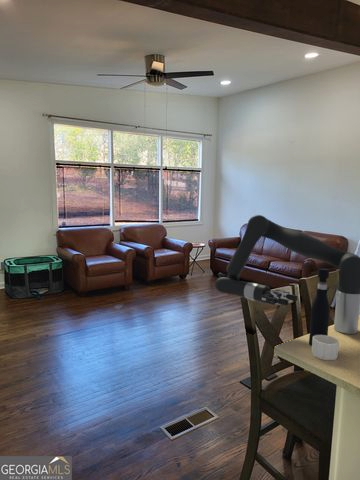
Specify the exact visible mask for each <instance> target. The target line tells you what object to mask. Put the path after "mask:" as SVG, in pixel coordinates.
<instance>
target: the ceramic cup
mask: <svg viewBox="0 0 360 480" xmlns="http://www.w3.org/2000/svg"><path fill="white" fill-rule="evenodd" d="M339 344H340V341H339V340H338V339H337V338H336V337H333V336H330V335H328V336H327V335H315V336H313V339H312V346H311V353H312V356H314V357H315V358H317V359H320V360H323V361H335V360H337V359H338V356H339V346H340V345H339Z"/></svg>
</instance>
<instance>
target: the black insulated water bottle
mask: <svg viewBox="0 0 360 480" xmlns="http://www.w3.org/2000/svg"><path fill="white" fill-rule="evenodd" d="M329 276H330V269H329V268H326V267H319V268H318V269H317V278H318V279H319V280H318V283H317V287H316V295H315V297H314V298H313V302H312V306H311V310H310V311H311V313H310V327H309V339H308V345H309V346H311V347H312V339H313V336H315V335H327V336H329V323H330V321H329V320H330V310H331V309H330V303H329V302H330V301H329V298H328V285H327V279H329V278H330V277H329Z"/></svg>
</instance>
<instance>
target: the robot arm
mask: <svg viewBox="0 0 360 480" xmlns="http://www.w3.org/2000/svg"><path fill="white" fill-rule="evenodd" d="M262 237H263V238H266V239H268V240H272V241H275V242H276V243H277V244H280V245H281V246H283V247H284V248H286V249H288V250H290V251H292V252H294V253H295V254H298V255H300V256H303V257H306V258H309V259H313V260H317V261H320V262H324V263H327V264H328V265H331V266H332V267H334V268H336V269H338V270H339V277H338V283H337V289H336V298H335V299H336V301H335V312H334V323H333V329H334V330H335V331H337V332H339V333H342V334H348V335H355V334H357V333H358V330H359V319H360V256H359V255H357V254H356V253H352V252H348V251H345V250H342V249H340V248H339V249H338V248H336V247H333V246H331V245H329V244H328V243H326V242H323V240H320V239H318V238H316V237H315V236H312V235H309V234H306V233H304V232H302V231H299V230H297V229H292V228H290V227H289V228H288V227H286V226H285V227H284V226H282V225H280V224H277V223H275V222H274V221H272V220H270V219H269V218H267V217H265V216H263V215H260V214H255V215H252V216H251V217H250V218H249V220H248V222H247V226H246V229H245V232H244V234H243V237H242V239H241V240H240V242H239V245H238V247H237V248H236V250H235V251H234V253H233V255H232V257H231V258H230V260H229V262H228V263H227V266H226V272H227V275H226V277H225V276H222V277H221V276H220V277H218V278H217V279H216V280H215V283H214V286H215V289H216V290H217V292H219V293H222V294H229V295H235V296H237V297H240V298H243V299H248V300H250V301H253V302H256V303H257V302H258V303H262V304H270V305H274V306H275V305H283V306H289V303H290V302H289V301H294V302H298V299H299V297H298V295H295V294H291V293H290V291H285V290H280V289H276V290H271V287H270V286H268V285H266V284H261V283H256V282H249V281H243V280H240V277H241V274H242V272H243V270H244V269H245V267H246V265H247V263H248V261H249V259H250V257H251V254H252V252H253V250H254V247H255V246H256V245H257V243H258V242H259V241H260V239H261V238H262Z"/></svg>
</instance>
